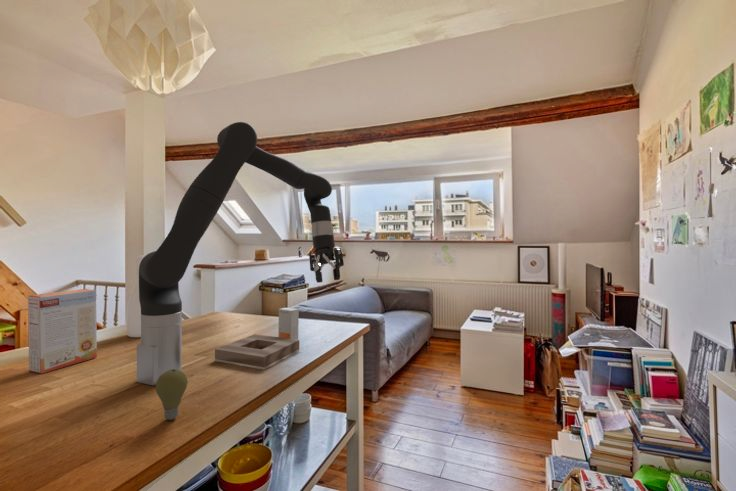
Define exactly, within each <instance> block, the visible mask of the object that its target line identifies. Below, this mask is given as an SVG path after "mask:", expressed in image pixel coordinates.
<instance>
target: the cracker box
mask: <svg viewBox="0 0 736 491" xmlns="http://www.w3.org/2000/svg"><path fill="white" fill-rule="evenodd" d="M27 317H28V318H27V319H28V320H27V321H28V324H27V325H28V370H29V372H32V373H37V374H41V375H42V374H46V373H48V372H52V371H57V370H58V369H62V368H65V367H69V366H72V365H75V364H80V363H82V362H86V361H89V360H93V359H96V358H98V357H97V356H98V354H97V352H98V343H97V342H98V341H97V338H98V336H97V332H98V331H97V330H98V329H97V290H96V289H89V288H83V289H82V288H81V289H73V290H66V291H57V292H56V291H55V292H48V293H46V292H45V293H40V294H32V295H31V294H30V295H28V296H27Z"/></svg>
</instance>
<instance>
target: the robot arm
mask: <svg viewBox="0 0 736 491" xmlns="http://www.w3.org/2000/svg"><path fill="white" fill-rule="evenodd" d="M216 140H217V145H218V148H219V149H218V151H217V152H216V154H215V156H214V158H213V159H212V160H211V161H210V162H209V163H208V164H207V165H206V166H205V167H204V168H203V169H202V170H201V172H199V174H198V175H197V176H196V178H194V180H193V181H192V183H191V184H190V185H189V187H188V189H187V190H186V191H185V193H184V195H183V197H182V198H181V201H180V203H179V205H178V208H177V211H176V214H175V217H174V220H173V224H172V227H171V229H170V230H169V233H168V234H167V236H166V237H165V238H164V240H163V241H162V242H161V244H160V245H159V247H158V248H157V249H156V251H152V252H149V253H147V254H146V255H145V257H144V258H143V259H142V261H141V263H140V266H139V301H140V306H141V337H140V343H138V344H136V383H140V384H145V385H148V386H156V382H157V380H158V378H159V377H160V376H161V375H162V374H163V373H164V372H166V371H168V370H171V369H177V370H180V371H182V359H183V358H182V356H183V355H182V354H183V353H182V343H183V341H182V339H183V338H182V337H183V336H182V334H183V333H182V331H183V330H182V329H183V322H182V321H183V320H182V319H183V318H182V317H183V311H182V310H183V302H182V299H181V295H180V292H179V291H180V290H179V289H180V288H179V283H180V281H181V280H182V279H183V277H184V275H185V273H186V271H187V268H188V266H189V264H190V262H191V259H192V256H193V255H194V252H195V249H196V248H197V246H198V244H199V242H200V241H201V239H202V237H203V236H204V234H205V233H206V232H207V230H208V228H209V227H210V225H211V223H212V221H213V220H214V218H215V216H216V215H217V214H218V212H219V210H220V208H221V207H222V205H223V202H224V201H225V199H226V197H227V195H228V193H229V191H230V189H231V187H232V186H233V184H234V181H235V179H236V177H237V175H238V173H239V171H240V170H241V168H242V167H243V166H244V164H248V165H250V166H253V167H255V168H257V169H260V170H261V171H263V172H266V173H267V174H269V175H272V176H273V177H274V178H276V179H278V180H280V181H282V182H283V183H285V184H286V185H289V186H290V187H292V188H293V189H296V190H303V197H304V200H305V203H306V205H307V208H308V210H309V213H310V222H311V238H312V245H313V246H312V248H313V250H315V253H313V254H312V253H311V254H309V256H308V257H309V270H310V271H311V272H314V276H315V281H316V283H323V272H322V270H323V267H324V266H325V265H327V264H328V265H330V266H331V268H332V273H333V274H332V275H333V280H334V281H338V280H341V272H340V271H341V270H340V268H341V267H343V266H344V265H345V264H344V258H343V252H342V251H343V250H342V248H335V247H336V244H335V242H336V241H335V233H334V228H333V224H332V216H331V210H330V208H329V206H328V205H324V204H322V200H325V199H326V198H328V197H329V196H331V194H332V191H333V187H332V184H331V183H330V181H329V180H328V179H326V177H324V176H321V175H320V174H319V175H318V174H316V173H313V172H310V171H308V170H305V169H303V168H302V167H300V166H299V165H297V164H296V163H294V162H293V161H291V160H288V159H286V158H285V157H281V156H279V155H276V154H273V153H270V152H268V151H266V150H264V149H262V148H260V147H258V146H257V145H258V136H257V132H256V130H255V128H254V127H253V126H252V125H251V124H249V123H248V122H244V121H237V122H233V123H231V124H229V125H227V126H226V127H224V128H222V129H221V131H220V132H218V135H217V139H216Z"/></svg>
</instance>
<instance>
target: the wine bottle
mask: <svg viewBox="0 0 736 491" xmlns="http://www.w3.org/2000/svg"><path fill="white" fill-rule="evenodd" d="M145 256H146V255H143V254H142V255H137V256H136V262H137V264H136V279H135V282H134V284H133V287H132V290H131V293H130V295H129V298H128V300H127V303H126V335H127V337H130V338H141V306H140V301H139V266H140V263H141V261H142V259H143V258H144V257H145Z"/></svg>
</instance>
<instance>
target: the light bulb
mask: <svg viewBox="0 0 736 491" xmlns="http://www.w3.org/2000/svg"><path fill="white" fill-rule="evenodd" d="M187 387H188V378H187V375H186V373H184V372H183V371H182V370H181V371H180V370H177V369H171V370H168V371H166V372H164V373H163V374H162V375H161V376H160V377H159V378H158V380H157V382H156V385H155V392H156V394H157V396H158V398H159V400H160V401H161V403H162V407H163V409H164V419H166V420H168V421H173V420H174V419H176V418H177V417H178V415H179V406H180V405H181V401H182V398H183V395H184V393H185V391H186V389H187Z"/></svg>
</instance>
